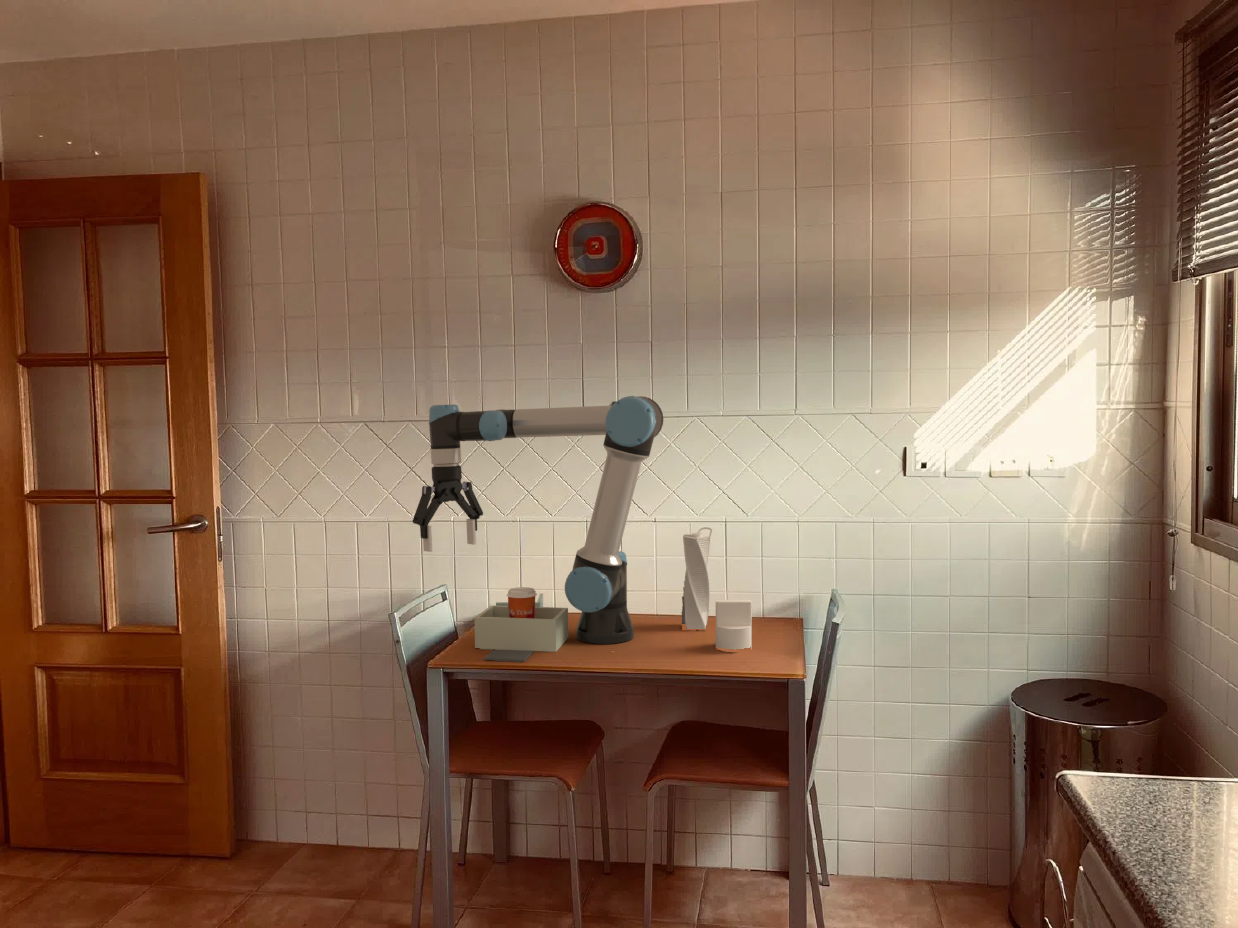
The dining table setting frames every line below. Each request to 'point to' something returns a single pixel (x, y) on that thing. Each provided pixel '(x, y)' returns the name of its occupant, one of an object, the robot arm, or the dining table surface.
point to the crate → (521, 629)
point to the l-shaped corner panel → (537, 604)
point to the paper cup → (521, 602)
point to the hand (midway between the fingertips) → (450, 547)
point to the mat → (508, 655)
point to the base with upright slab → (733, 624)
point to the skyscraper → (696, 581)
